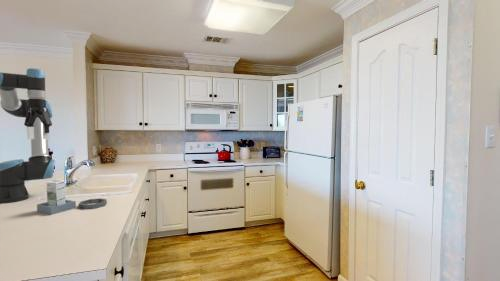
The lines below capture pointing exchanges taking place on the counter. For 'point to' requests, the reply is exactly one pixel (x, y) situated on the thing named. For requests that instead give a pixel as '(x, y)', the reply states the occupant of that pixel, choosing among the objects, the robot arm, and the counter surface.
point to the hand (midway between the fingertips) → (38, 139)
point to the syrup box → (55, 193)
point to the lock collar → (99, 201)
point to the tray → (56, 207)
